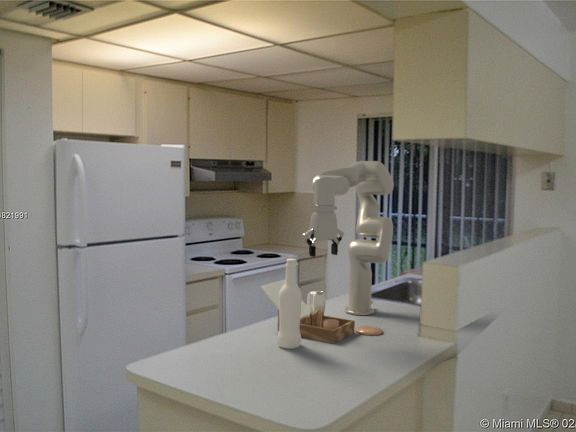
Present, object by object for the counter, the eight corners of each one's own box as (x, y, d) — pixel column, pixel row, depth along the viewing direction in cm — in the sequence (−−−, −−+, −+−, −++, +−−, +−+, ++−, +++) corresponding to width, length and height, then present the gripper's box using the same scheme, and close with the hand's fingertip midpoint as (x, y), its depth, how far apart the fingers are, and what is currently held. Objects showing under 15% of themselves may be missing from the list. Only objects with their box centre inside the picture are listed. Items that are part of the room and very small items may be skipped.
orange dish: (362, 326, 214) (362, 324, 214) (386, 331, 209) (386, 329, 209) (351, 332, 206) (351, 330, 205) (376, 337, 200) (376, 335, 200)
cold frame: (312, 324, 215) (312, 313, 215) (354, 332, 205) (354, 320, 205) (289, 334, 201) (289, 322, 200) (333, 343, 191) (333, 330, 191)
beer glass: (325, 335, 201) (326, 294, 200) (306, 334, 201) (307, 294, 200) (324, 330, 208) (325, 291, 207) (305, 329, 208) (306, 290, 207)
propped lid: (282, 319, 222) (283, 279, 221) (313, 324, 215) (314, 283, 214) (258, 328, 208) (259, 285, 207) (290, 334, 201) (291, 290, 199)
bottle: (272, 346, 185) (275, 259, 183) (284, 341, 193) (286, 256, 191) (294, 351, 182) (296, 261, 180) (304, 344, 189) (307, 258, 187)
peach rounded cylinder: (327, 334, 203) (327, 318, 202) (340, 336, 200) (341, 320, 199) (320, 337, 198) (320, 321, 198) (333, 340, 195) (334, 323, 195)
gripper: (337, 208, 210) (336, 252, 212) (299, 209, 202) (298, 255, 203) (349, 209, 204) (348, 255, 205) (309, 211, 195) (308, 258, 197)
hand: (323, 255), depth 204 cm, fingers open, 9 cm apart
